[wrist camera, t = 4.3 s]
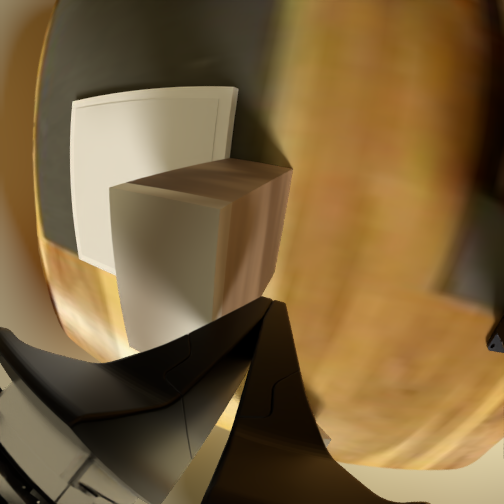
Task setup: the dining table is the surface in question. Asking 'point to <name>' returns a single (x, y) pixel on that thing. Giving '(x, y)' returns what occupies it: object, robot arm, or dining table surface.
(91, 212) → the shallow cream tray
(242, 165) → the walnut block
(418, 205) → the dining table surface
